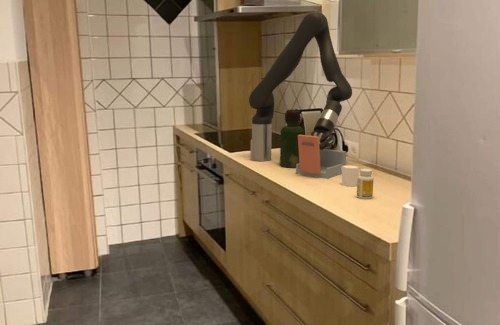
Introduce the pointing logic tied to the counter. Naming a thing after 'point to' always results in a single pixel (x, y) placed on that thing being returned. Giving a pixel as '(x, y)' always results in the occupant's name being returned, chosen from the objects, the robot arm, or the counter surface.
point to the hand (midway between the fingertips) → (310, 156)
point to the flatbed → (328, 164)
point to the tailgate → (309, 153)
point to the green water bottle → (290, 139)
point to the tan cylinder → (350, 175)
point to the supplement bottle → (365, 184)
